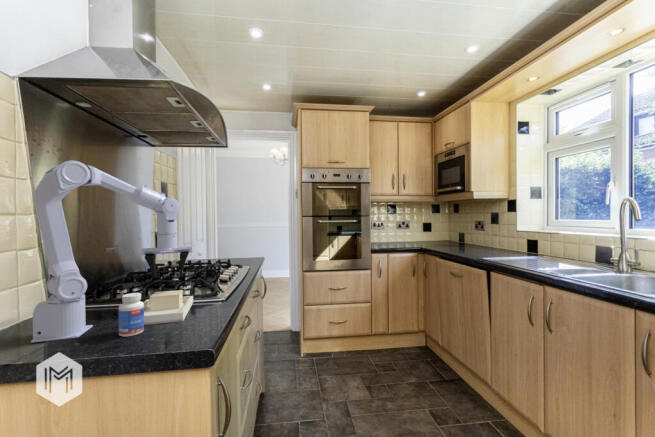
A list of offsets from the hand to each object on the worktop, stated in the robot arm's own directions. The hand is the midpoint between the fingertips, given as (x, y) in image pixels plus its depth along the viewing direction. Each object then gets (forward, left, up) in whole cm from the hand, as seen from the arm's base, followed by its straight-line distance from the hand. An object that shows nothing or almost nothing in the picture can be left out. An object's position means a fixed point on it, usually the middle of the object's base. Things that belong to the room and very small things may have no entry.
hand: (167, 275), depth 95 cm
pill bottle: (-4, -20, -11) cm, 23 cm away
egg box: (0, -2, -10) cm, 10 cm away
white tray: (0, -6, -10) cm, 12 cm away
